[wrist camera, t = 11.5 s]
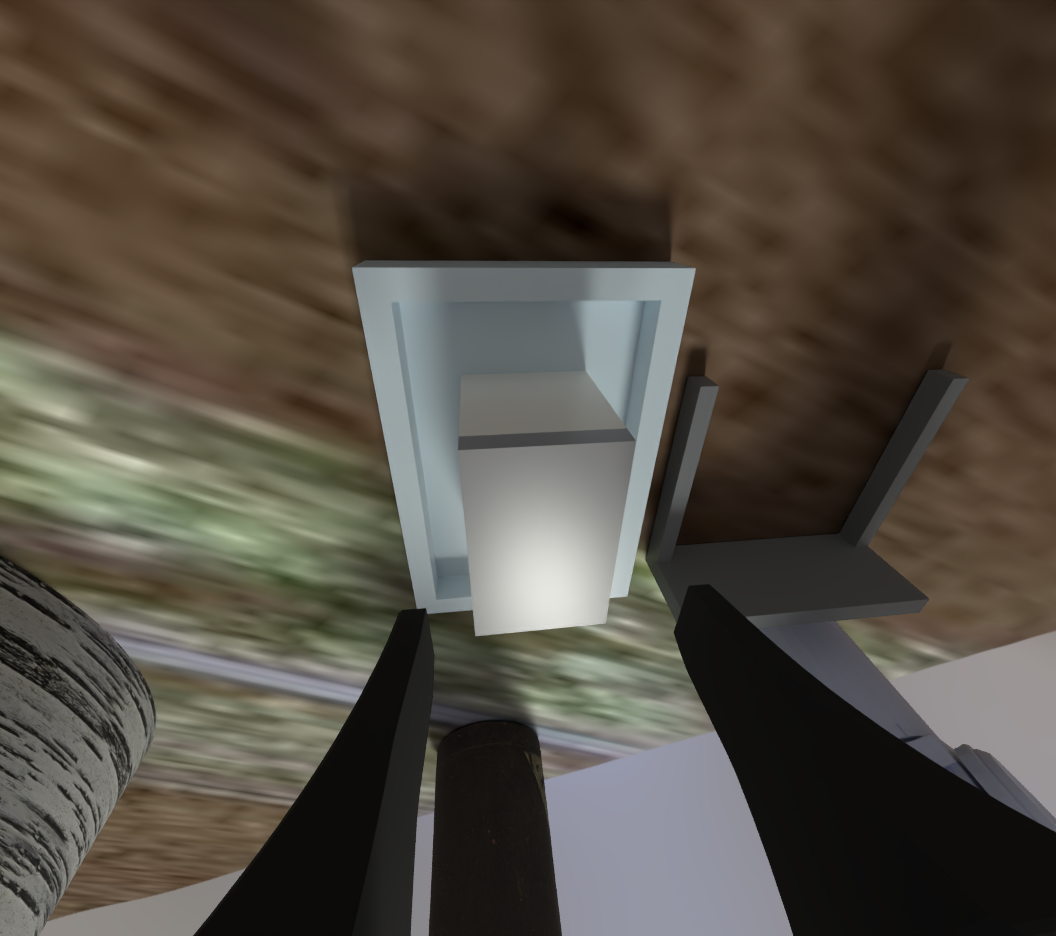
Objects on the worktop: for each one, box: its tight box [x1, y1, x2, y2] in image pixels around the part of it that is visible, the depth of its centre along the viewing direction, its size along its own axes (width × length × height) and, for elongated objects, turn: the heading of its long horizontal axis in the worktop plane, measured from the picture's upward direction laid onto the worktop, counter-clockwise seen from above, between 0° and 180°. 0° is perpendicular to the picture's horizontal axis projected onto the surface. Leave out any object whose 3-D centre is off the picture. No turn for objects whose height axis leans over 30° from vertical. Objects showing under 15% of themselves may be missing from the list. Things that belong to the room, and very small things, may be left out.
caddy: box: [458, 371, 636, 636], centre depth 16 cm, size 8×5×6 cm, turn 179°
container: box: [429, 721, 562, 936], centre depth 25 cm, size 9×9×20 cm
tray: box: [352, 260, 696, 614], centre depth 18 cm, size 16×11×2 cm
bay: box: [646, 370, 969, 629], centre depth 20 cm, size 11×13×5 cm
